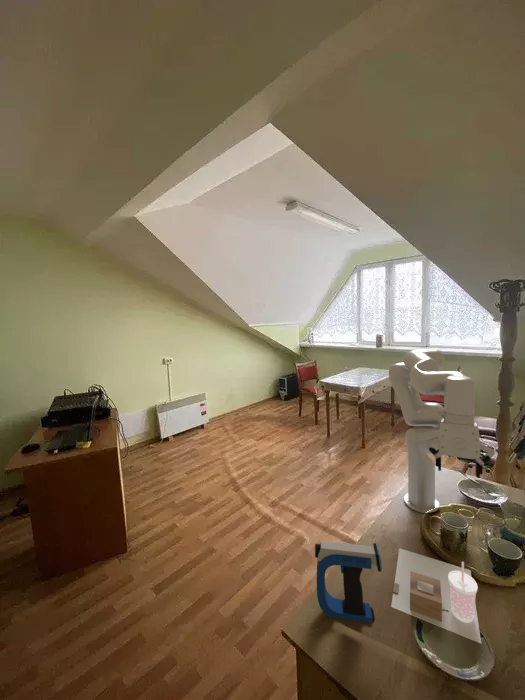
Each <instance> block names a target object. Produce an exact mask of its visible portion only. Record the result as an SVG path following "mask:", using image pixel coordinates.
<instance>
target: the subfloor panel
mask: <svg viewBox="0 0 525 700" xmlns="http://www.w3.org/2000/svg"><path fill="white" fill-rule="evenodd" d="M411 571H412V572H415V573H418V574H422V575H425V576H428V577H431V578H434V579H437V580H440V585H441V598H442V609H445V610H448V611H449V612H446V611H442V622H441V621H438V620H436V619H433V618H430V617H428V616H425V615H422V614H419V613H417V612H414V611H411V610H410V573H411ZM451 571H461V572H462V566H461V567H460V566H457V565H455V564H451V563H448V562H445V561H442V560H439V559H435V558H432V557H430V556H426V555H422V554H419V553H416V552H412V551H409V550H407V549H403V548H398V556H397V562H396V570H395V576H394V578H395V579H394V582H393V583H394V584H393V590H392V599H391V605H390V607H391V608H392V609H395V610H396V611H399V612H402V613H405V614H407V615H409V616H412V617H415V618H417V619H418V620H419V619H420V620H422V621H424V622H427V623H430V624H432V625H434V626H436V627H439V628H441V629H444V630H447V631H449V632H451V633H454V634H457V635H458V636H461V637H463V638H466V639H468V640H470V641H473V642H475V643H478V644H482V639H481V632H480V625H479V619H478V618H479V617H478V611H477V603H475V608H474V617H473V621H472V622H470V623H465V622H463V621H460V620H459V619H457V618H456V617H455V616H454V615H453V613H452V610H451V596H450V583H449V580H448V574H449V572H451ZM464 573H466V574H468V575H469V576H471V577H472V571H471V569H468V568H465V567H464Z"/></svg>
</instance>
